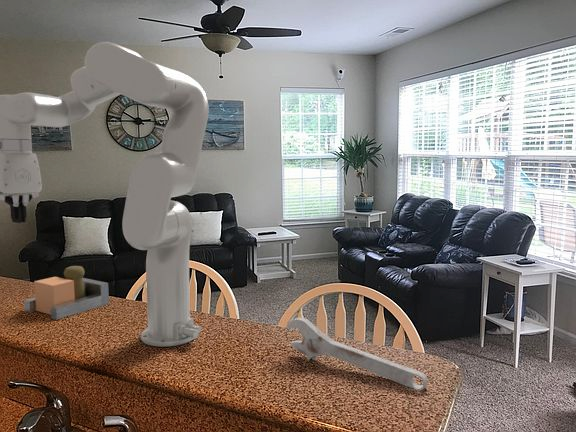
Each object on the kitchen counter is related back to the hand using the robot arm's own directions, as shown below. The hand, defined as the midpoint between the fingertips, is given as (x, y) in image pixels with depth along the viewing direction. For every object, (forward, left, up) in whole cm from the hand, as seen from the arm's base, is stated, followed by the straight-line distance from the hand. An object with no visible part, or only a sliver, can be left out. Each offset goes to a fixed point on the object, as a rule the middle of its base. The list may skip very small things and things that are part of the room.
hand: (19, 222), depth 118 cm
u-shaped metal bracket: (0, -11, -25) cm, 28 cm away
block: (0, -8, -25) cm, 26 cm away
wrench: (-82, -17, -26) cm, 88 cm away
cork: (0, -14, -25) cm, 29 cm away
